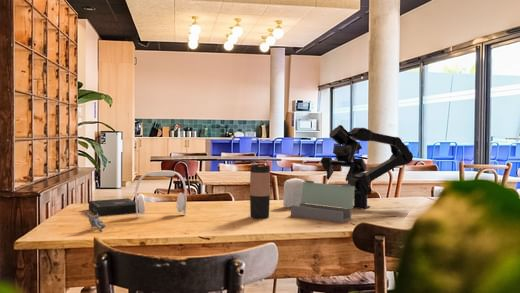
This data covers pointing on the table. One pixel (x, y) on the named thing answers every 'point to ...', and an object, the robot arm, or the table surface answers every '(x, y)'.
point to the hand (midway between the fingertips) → (336, 179)
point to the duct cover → (328, 194)
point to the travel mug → (259, 191)
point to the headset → (181, 197)
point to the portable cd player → (112, 207)
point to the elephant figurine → (95, 221)
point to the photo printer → (293, 192)
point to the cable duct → (321, 212)
